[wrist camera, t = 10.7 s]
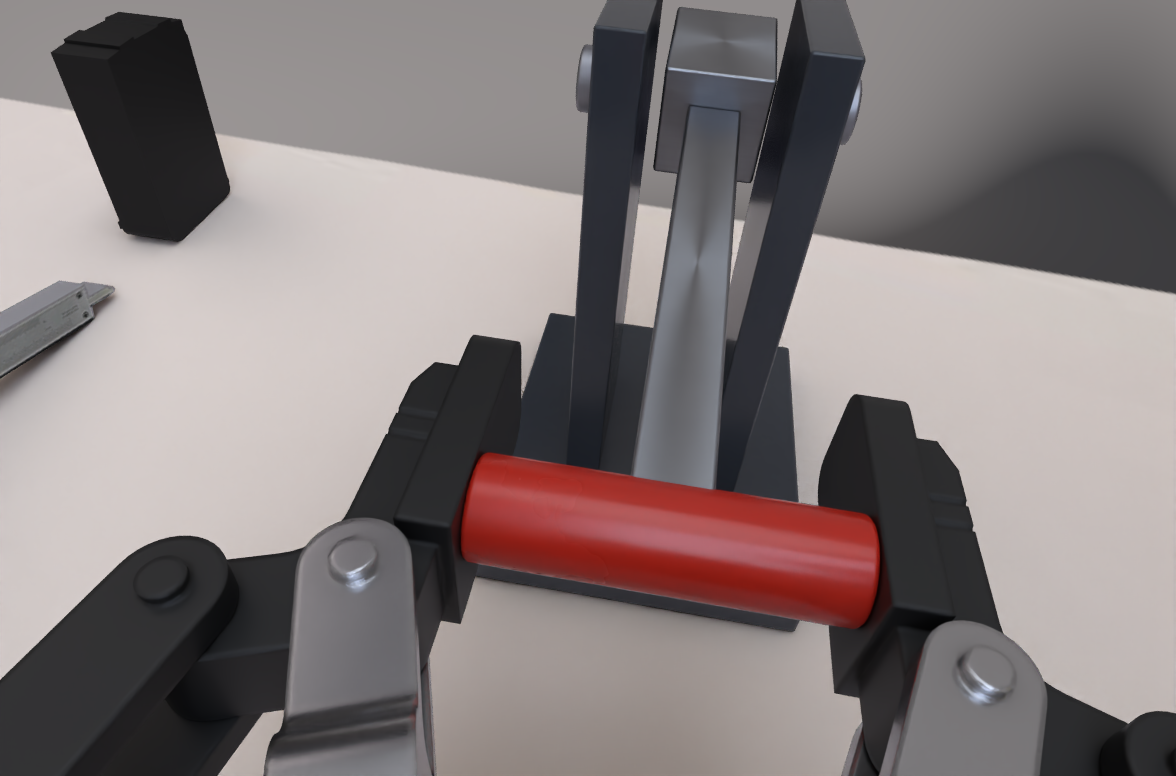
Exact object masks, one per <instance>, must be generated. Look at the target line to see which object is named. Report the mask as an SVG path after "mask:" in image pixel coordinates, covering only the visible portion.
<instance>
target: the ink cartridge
mask: <svg viewBox="0 0 1176 776" xmlns="http://www.w3.org/2000/svg"><path fill="white" fill-rule="evenodd" d="M64 41H65V43H64V44H63V45H61V46H60V47H58V48H57V49H55V50H54V51H52V52H51V54H52V57H53V59H54V62H55V64H56V67H57V69H58V72H59V74H60V76H61V79H62V81H63V84H64V86H65V88H66V91H67V93H68V96H69V98H70V101H71V103H72V106H73V108H74V111H75V113H76V116H77V118H78V120H79V123H80V125H81V128H82V130H83V133H84V135H85V138H86V140H87V142H88V145H89V147H90V150H91V152H92V155H93V157H94V159H95V162H96V164H97V167H98V169H99V172H100V174H101V177H102V179H103V181H104V184H105V186H106V189H107V191H108V194H109V196H110V199H111V201H112V203H113V206H114V208H115V211H116V213H117V216H118V218H119V220H120V221H119V222H118V224H119V226H120V229H123V230H124V232H126V233H127V234H132V235H140V236H147V237H154V238H161V239H168V240H175V241H180V240H182V239H183V238H185V237H186V236H187V235H188V234H189V233H190V232H191V231H192V230H193V229H194V228H195V227H196V226H197V225H198V224H199V223H200V222H201V221H202V220H203V219H204V218H205V217H206V216H207V215H208V214H209V213H210V212H211V211H212V210H213V209H214V208H215V207H216V206H217V205H218V204H219V203H220V202H221V201H222V200H223V199H224V198H225V197H226V196H227V195H228V194H229V192H230V186H229V179H228V178H227V174H226V171H225V167H224V163H223V160H222V156H221V153H220V149H219V146H218V142H217V138H216V135H215V131H214V128H213V124H212V121H211V117H210V114H209V110H208V106H207V103H206V99H205V96H204V92H203V89H202V85H201V81H200V78H199V74H198V71H197V68H196V64H195V60H194V57H193V53H192V49H191V46H190V42H189V39H188V35H187V34H186V32H185V30H184V27H183V23H182V20H181V19H173V18H166V17H157V16H149V15H140V14H132V13H123V12H118V13H115V14H113V15H110V16H108V17H106V18H105V21H103V22H101V23H99V24H97V25H95V26H93V27H91V28H89V29H87V30H85V31H82V30H78V31H77V32H75V33H73V34H72V35H70V36H68V37H67V38H65V39H64Z"/></svg>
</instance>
